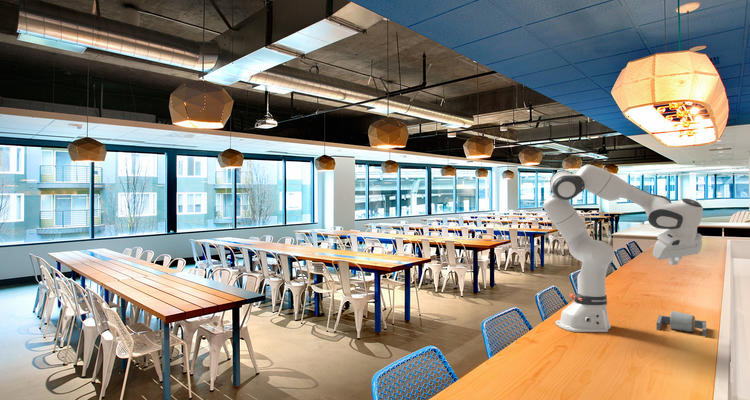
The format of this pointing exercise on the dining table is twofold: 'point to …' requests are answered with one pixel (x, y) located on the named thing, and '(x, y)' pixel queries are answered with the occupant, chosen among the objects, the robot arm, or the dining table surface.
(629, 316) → the dining table surface
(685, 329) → the grey cylinder
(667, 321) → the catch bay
